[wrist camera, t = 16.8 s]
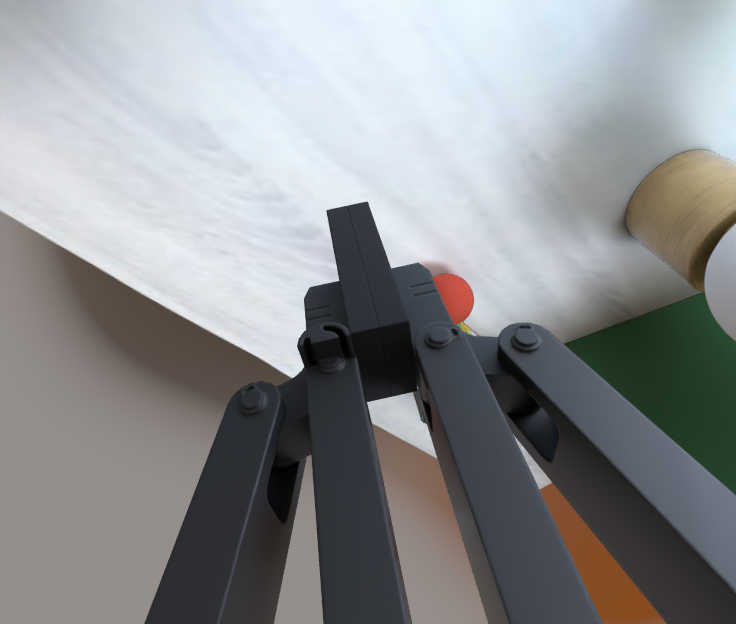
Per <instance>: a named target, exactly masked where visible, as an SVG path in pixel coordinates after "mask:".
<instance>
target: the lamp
mask: <svg viewBox="0 0 736 624" xmlns="http://www.w3.org/2000/svg"><path fill="white" fill-rule="evenodd" d="M626 225H627V228H628V231H629V232H630V234H631V235H632V236H633V237H634V238H635V239H636V240H637V241H639V242H640V243H641V244H642V245H643V246H645V247H646V248H647V249H648V250H650V251H651V252H652V253H653V254H654V255H656V256H657V257H658V258H659V259H660V260H662V261H663V262H664V263H665V264H666V265H668V266H669V267H670V268H671V269H673V270H674V271H675V272H676V273H677V274H679V275H680V276H681V277H682V278H683V279H685V280H686V281H687V282H688V283H689V284H691V285H692V286H693V287H694V288H696V289H697V290H699V291H702V292H705V294H706V299H707V302H708V305H709V308H710V310H711V312H712V314H713V316H714V318H715V319H716V321H717V322H718V324H719V325H720V326H721V327H722V329H723V330H724V331H725V332H726V333H727V334H728V335H729V336H730V337H731V338H733V339H734V340H735V341H736V162H734V161H732V160H730V159H728V158H726V157H724V156H722V155H720V154H718V153H716V152H713V151H710V150H691V151H687V152H684V153H681V154H679V155H676V156H674V157H672V158H670V159H669V160H667V161H665V162H664V163H662V164H661V165H660V166H658V167H657V168H656V169H654V170H653V171H652V172H651V173H650V174H649V175H648V176H647V177H646V178H645V179H644V180H643V181H642V183H641V184H640V185H639V187H638V188H637V189H636V191H635V193H634V194H633V196H632V198H631V200H630V202H629V205H628V208H627V212H626Z"/></svg>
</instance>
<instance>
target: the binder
mask: <svg viewBox="0 0 736 624" xmlns="http://www.w3.org/2000/svg"><path fill="white" fill-rule="evenodd" d="M564 345H565V346H566V347H567V348H568V349H569V350H571V351H572V352H573V353H574V354H575V355H576V356H577V357H579V358H580V359H581V360H582V361H583V362H584V363H585V364H587V365H588V366H589V367H590V368H591V369H592V370H593V371H595V372H596V373H597V374H598V375H599V376H600V377H601V378H602V379H604V380H605V381H606V382H607V383H608V384H609V385H610V386H612V387H613V388H614V389H615V390H616V391H617V392H618V393H620V394H621V395H622V396H623V397H624V398H625V399H626V400H628V401H629V402H630V403H631V404H632V405H633V406H634V407H636V408H637V409H638V410H639V411H640V412H641V413H642V414H644V415H645V416H646V417H647V418H648V419H649V420H650V421H651V422H653V423H654V424H655V425H656V426H657V427H658V428H659V429H661V430H662V431H663V432H664V433H665V434H666V435H667V436H669V437H670V438H671V439H672V440H673V441H674V442H675V443H677V444H678V445H679V446H680V447H681V448H682V449H683V450H685V451H686V452H687V453H688V454H689V455H690V456H691V457H693V458H694V459H695V460H696V461H697V462H698V463H699V464H700V465H702V466H703V467H704V468H705V469H706V470H707V471H708V472H710V473H711V474H712V475H713V476H714V477H715V478H716V479H718V480H719V481H720V482H721V483H722V484H723V485H724V486H726V487H727V488H728V489H729V490H730V491H731V492H732V493H734V494H735V495H736V341H735V340H734V339H733V338H731V337H730V336H729V335H728V334H727V333H726V332H725V331H724V330H723V329H722V327H721V326H720V325H719V324H718V322H717V321H716V319H715V318H714V316H713V314H712V312H711V310H710V308H709V305H708V302H707V299H706V294H705V292H703V293H701V294H698V295H695V296H693V297H690V298H687V299H685V300H682V301H679V302H677V303H674V304H671V305H668V306H666V307H663V308H660V309H658V310H655V311H652V312H650V313H647V314H644V315H642V316H639V317H636V318H633V319H631V320H628V321H625V322H623V323H620V324H617V325H615V326H612V327H609V328H607V329H604V330H601V331H598V332H596V333H593V334H590V335H588V336H585V337H582V338H580V339H577V340H574V341H572V342H569V343H566V344H564Z"/></svg>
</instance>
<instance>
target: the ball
mask: <svg viewBox="0 0 736 624" xmlns="http://www.w3.org/2000/svg"><path fill="white" fill-rule="evenodd" d="M433 280H434V283H435V285H436V287H437V289H438V292H439V293H440V295H441V297H442V300H443V302H444V304H445V306H446V308H447V310H448V313H449V315H450V317H451V319H452V321H453V323H454V324H455V325H457V324H459V323H461V322H463V321H464V320H465V319H466V318H467V317H468V316H469V314H470V313H471V311H472V308H473V304H474V297H473V292H472V289H471V288H470V286H469V284H468V283H467V282H466V281H465V280H464V279H462V278H461V277H459V276H456V275H453V274H441V275H438V276H435V277H434V278H433Z"/></svg>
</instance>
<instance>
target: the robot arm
mask: <svg viewBox="0 0 736 624" xmlns="http://www.w3.org/2000/svg"><path fill="white" fill-rule="evenodd" d="M326 211H327V216H328V222H329V227H330V232H331V238H332V243H333V248H334V254H335V259H336V264H337V270H338V275H339V281H337V282H332V283H327V284H323V285H318V286H314V287H310V288H309V290H308V292H307V294H306V296H305V298H304V306H305V319H306V331H304V333H303V334H302V335H301V337H300V338H299V340H298V345H297V347H298V350H299V353H300V355H301V358H302V361H303V364H304V366H305V367H304V368H303V369H302V371H301V372H300V373H299V374H298V375H297V376H295V377H294V378H292V379H291V380H289V381H287V382H285V383H283V384H281V385H279V386H277V387H276V386H275V385H273V384H272V383H270V382H263V381H259V382H254V383H250V384H248V385H246V386H244V387H242V388H241V389H240V390H238V391H237V392H236V393H235V394H234V395H233V396H232V398H231V400H230V401H229V403H228V405H227V408H226V411H225V413H224V416H223V419H222V421H221V424H220V426H219V429H218V432H217V434H216V437H215V440H214V442H213V445H212V448H211V450H210V453H209V455H208V458H207V461H206V463H205V466H204V468H203V471H202V474H201V476H200V479H199V482H198V484H197V487H196V490H195V492H194V495H193V498H192V500H191V503H190V505H189V508H188V511H187V513H186V516H185V519H184V521H183V524H182V526H181V529H180V532H179V534H178V537H177V539H176V542H175V545H174V548H173V550H172V553H171V555H170V558H169V560H168V563H167V566H166V569H165V571H164V574H163V576H162V579H161V582H160V584H159V587H158V590H157V592H156V595H155V597H154V600H153V603H152V605H151V608H150V610H149V614H148V616H147V618H146V621H145V624H274V620H275V615H276V610H277V604H278V599H279V594H280V589H281V584H282V579H283V574H284V569H285V564H286V559H287V553H288V549H289V544H290V539H291V534H292V529H293V524H294V519H295V513H296V509H297V504H298V498H299V493H300V488H301V483H302V478H303V473H304V468H305V463H306V457H307V456H309V455H311V454H312V468H313V482H314V496H315V510H316V522H317V523H316V524H317V538H318V552H319V566H320V579H321V593H322V607H323V621H324V624H412V620H411V615H410V611H409V606H408V601H407V596H406V591H405V586H404V581H403V576H402V571H401V566H400V561H399V556H398V551H397V546H396V541H395V536H394V531H393V526H392V522H391V516H390V511H389V507H388V501H387V497H386V492H385V487H384V482H383V477H382V472H381V467H380V462H379V458H378V452H377V447H376V442H375V437H374V432H373V427H372V422H371V417H370V413H369V409H368V404H367V402H370V401H374V400H379V399H383V398H388V397H392V396H397V395H401V394H406V393H410V392H415V391H418V390H417V386H418V389H419V392H420V397H421V406H422V415H423V423H427V426H428V429H429V432H430V436H431V439H432V442H433V445H434V449H435V452H436V455H437V458H438V461H439V465H440V468H441V471H442V474H443V478H444V481H445V484H446V487H447V490H448V494H449V497H450V500H451V504H452V506H453V510H454V513H455V517H456V520H457V523H458V526H459V529H460V533H461V536H462V539H463V542H464V546H465V549H466V552H467V555H468V559H469V562H470V565H471V568H472V571H473V574H474V578H475V581H476V585H477V587H478V591H479V594H480V597H481V601H482V604H483V607H484V610H485V614H486V617H487V620H488V623H489V624H603V622H602V620H601V618H600V616H599V614H598V612H597V610H596V607H595V605H594V603H593V601H592V599H591V597H590V595H589V593H588V591H587V589H586V587H585V584H584V582H583V580H582V578H581V576H580V574H579V572H578V570H577V568H576V566H575V563H574V561H573V559H572V557H571V555H570V553H569V551H568V549H567V547H566V545H565V542H564V540H563V538H562V536H561V534H560V532H559V530H558V528H557V526H556V524H555V522H554V519H553V518H552V515H551V513H550V511H549V509H548V507H547V505H546V503H545V501H544V498H543V496H542V494H541V492H540V490H539V488H538V486H537V484H536V482H535V480H534V477H533V475H532V473H531V471H530V469H529V467H528V465H527V463H526V461H525V459H524V456H523V454H522V452H521V450H520V448H519V446H518V444H517V442H516V440H515V438H514V436H515V437H516V438H517V439H518V441H519V442H520V443H521V444H522V446H523V447H524V448H525V449H526V450H527V452H528V453H529V454H530V455H531V457H532V458H533V459H534V460H535V462H536V463H537V464H538V465H539V467H540V468H541V469H542V470H543V471H544V473H545V474H546V475H547V476H548V478H549V479H550V480H551V481H552V483H553V484H554V485H555V486H556V487H557V488H558V490H559V491H560V492H561V494H562V495H563V496H564V497H565V499H566V500H567V501H568V502H569V504H570V505H571V506H572V507H573V508H574V510H575V511H576V512H577V513H578V515H579V516H580V517H581V518H582V520H583V521H584V522H585V523H586V524H587V526H588V527H589V528H590V529H591V531H592V532H593V533H594V534H595V535H596V537H597V538H598V539H599V541H600V542H601V543H602V544H603V545H604V547H605V548H606V549H607V550H608V552H609V553H610V554H611V555H612V556H613V558H614V559H615V560H616V561H617V563H618V564H619V565H620V566H621V568H622V569H623V570H624V571H625V573H626V574H627V575H628V576H629V578H630V579H631V580H632V581H633V582H634V584H635V585H636V586H637V587H638V589H639V590H640V591H641V592H642V593H643V595H644V596H645V597H646V598H647V600H648V601H649V602H650V603H651V605H652V606H653V607H654V608H655V610H656V611H657V612H658V613H659V614H660V616H661V617H662V618H663V619H664V621H665V622H666V623H667V624H736V495H735V494H734V493H732V492H731V491H730V490H729V489H728V488H727V487H726V486H724V485H723V484H722V483H721V482H720V481H719V480H718V479H716V478H715V477H714V476H713V475H712V474H711V473H710V472H708V471H707V470H706V469H705V468H704V467H703V466H702V465H700V464H699V463H698V462H697V461H696V460H695V459H694V458H693V457H691V456H690V455H689V454H688V453H687V452H686V451H685V450H683V449H682V448H681V447H680V446H679V445H678V444H677V443H675V442H674V441H673V440H672V439H671V438H670V437H669V436H667V435H666V434H665V433H664V432H663V431H662V430H661V429H659V428H658V427H657V426H656V425H655V424H654V423H653V422H651V421H650V420H649V419H648V418H647V417H646V416H645V415H644V414H642V413H641V412H640V411H639V410H638V409H637V408H636V407H634V406H633V405H632V404H631V403H630V402H629V401H628V400H626V399H625V398H624V397H623V396H622V395H621V394H620V393H618V392H617V391H616V390H615V389H614V388H613V387H612V386H610V385H609V384H608V383H607V382H606V381H605V380H604V379H602V378H601V377H600V376H599V375H598V374H597V373H596V372H595V371H593V370H592V369H591V368H590V367H589V366H588V365H587V364H585V363H584V362H583V361H582V360H581V359H580V358H579V357H577V356H576V355H575V354H574V353H573V352H572V351H571V350H569V349H568V348H567V347H566V346H565V345H564V344H563V343H561V342H560V341H559V340H558V339H557V338H556V337H555V336H554V335H552V334H551V333H550V332H549V331H548V330H546V329H544V328H543V327H541V326H539V325H535V324H532V323H516V324H512V325H509V326H507V327H506V328H504V329H503V330H502V331H501V333H500V335H499V336H498V337H482V336H474V335H471V334H467V333H465V332H463V331H462V329H461V328H460V327H458V326H457V325H455V324H454V323H453V321H452V319H451V317H450V315H449V313H448V310H447V308H446V306H445V304H444V302H443V300H442V297H441V295H440V293H439V292H438V289H437V287H436V285H435V283H434V280H433V278H432V276H431V274H430V272H429V270H428V269H426V268H425V267H423V266H422V265H421V264H419V263H415V264H410V265H406V266H401V267H396V268H392V269H391V267H390V264H389V261H388V258H387V256H386V253H385V250H384V247H383V244H382V241H381V239H380V236H379V233H378V230H377V227H376V224H375V221H374V219H373V216H372V213H371V210H370V207H369V204H368V202H363V203H358V204H353V205H349V206H344V207H339V208H334V209H330V210H326ZM513 434H514V436H513Z"/></svg>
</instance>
